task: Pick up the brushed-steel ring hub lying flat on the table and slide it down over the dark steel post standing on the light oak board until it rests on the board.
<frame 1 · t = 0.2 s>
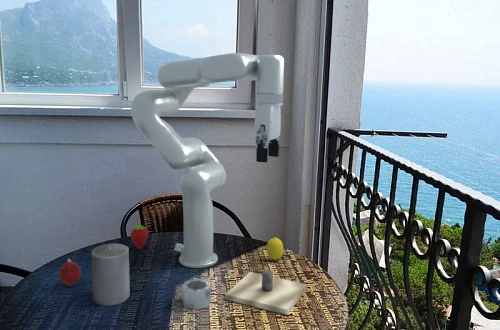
hand: (267, 159, 133), 36 cm above the table, tool pointing down, fingers open, 9 cm apart
pillar candle: (112, 297, 125), on the table
onion: (71, 286, 131), on the table
lemon: (274, 260, 152), on the table
post board: (266, 294, 128), on the table
strawberry: (139, 249, 159), on the table
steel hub: (196, 302, 123), on the table
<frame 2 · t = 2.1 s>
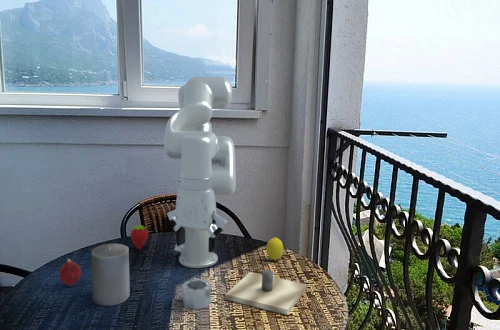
hand: (196, 247, 119), 16 cm above the table, tool pointing down, fingers open, 9 cm apart
nothing on the table moved.
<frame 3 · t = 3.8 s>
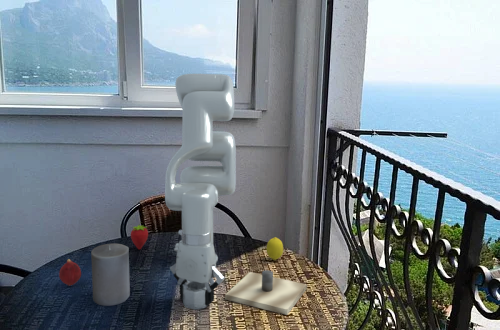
hand: (196, 299, 123), 1 cm above the table, tool pointing down, fingers closed on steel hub, 7 cm apart
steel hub: (196, 302, 123), on the table, touching gripper
everything else where it was.
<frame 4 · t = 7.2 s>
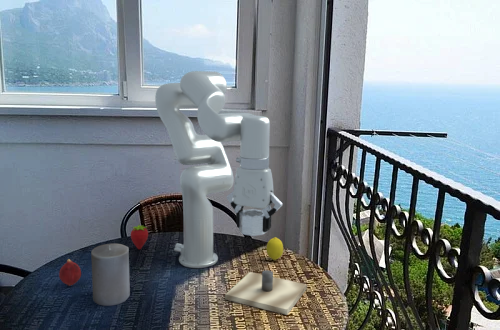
hand: (253, 227, 123), 20 cm above the table, tool pointing down, fingers closed on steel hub, 7 cm apart
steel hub: (253, 231, 123), point 19 cm above the table, touching gripper
everything else where it was.
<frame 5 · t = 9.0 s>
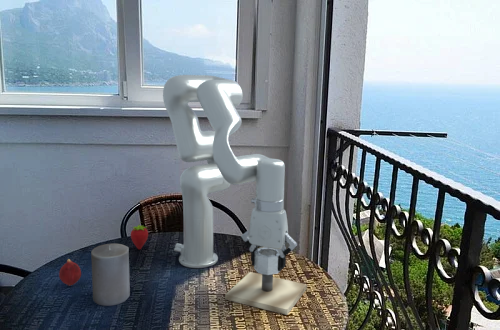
hand: (267, 266, 127), 8 cm above the table, tool pointing down, fingers closed on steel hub, 7 cm apart
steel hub: (267, 269, 127), point 8 cm above the table, touching gripper
everything else where it was.
when the fingers open (4 cm above the table, at t = 10.5 s): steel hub drops 2 cm, resting on post board.
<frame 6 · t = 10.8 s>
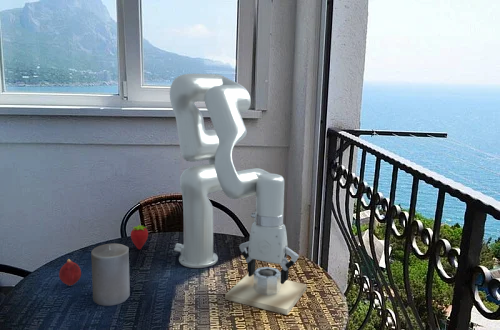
hand: (267, 278, 127), 5 cm above the table, tool pointing down, fingers open, 9 cm apart
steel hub: (266, 289, 128), point 1 cm above the table, touching post board
everything else where it was.
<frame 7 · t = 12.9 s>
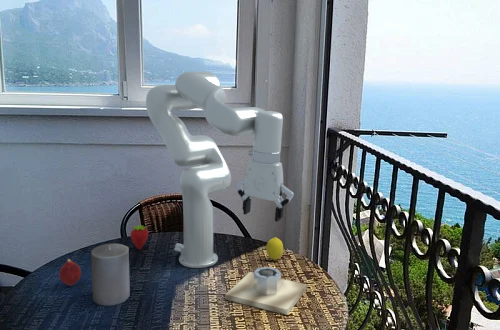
hand: (262, 216, 128), 21 cm above the table, tool pointing down, fingers open, 9 cm apart
nothing on the table moved.
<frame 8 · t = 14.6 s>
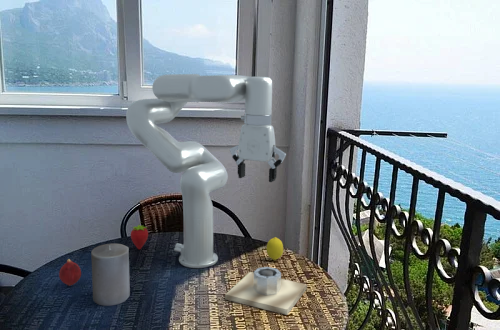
hand: (256, 179, 134), 30 cm above the table, tool pointing down, fingers open, 9 cm apart
nothing on the table moved.
at the end: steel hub 0.1 cm from the post board (horizontally); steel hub point 1.5 cm above the table; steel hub tilted 0° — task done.
